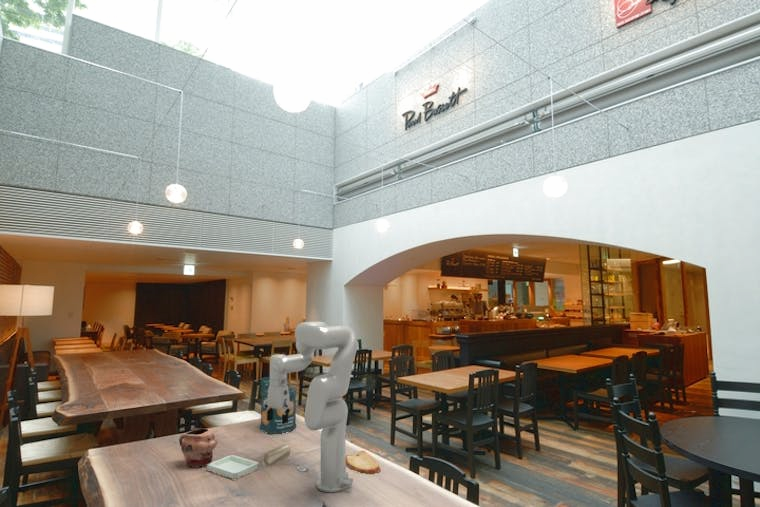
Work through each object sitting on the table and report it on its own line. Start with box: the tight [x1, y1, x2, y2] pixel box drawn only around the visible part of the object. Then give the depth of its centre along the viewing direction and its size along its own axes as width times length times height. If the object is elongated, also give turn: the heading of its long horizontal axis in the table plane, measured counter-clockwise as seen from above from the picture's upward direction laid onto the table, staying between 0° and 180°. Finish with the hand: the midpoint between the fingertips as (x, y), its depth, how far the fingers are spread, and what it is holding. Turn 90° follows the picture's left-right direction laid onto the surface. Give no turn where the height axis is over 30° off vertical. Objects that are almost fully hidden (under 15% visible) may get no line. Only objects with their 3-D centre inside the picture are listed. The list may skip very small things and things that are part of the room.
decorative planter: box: [178, 428, 218, 468], centre depth 173 cm, size 20×12×14 cm, turn 76°
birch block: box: [262, 444, 291, 467], centre depth 173 cm, size 4×12×5 cm, turn 148°
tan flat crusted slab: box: [346, 450, 381, 475], centre depth 167 cm, size 18×18×4 cm
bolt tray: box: [206, 454, 261, 479], centre depth 165 cm, size 18×12×2 cm
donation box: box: [259, 376, 297, 435], centre depth 219 cm, size 16×16×28 cm
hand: (277, 421), depth 175 cm, fingers open, 9 cm apart
